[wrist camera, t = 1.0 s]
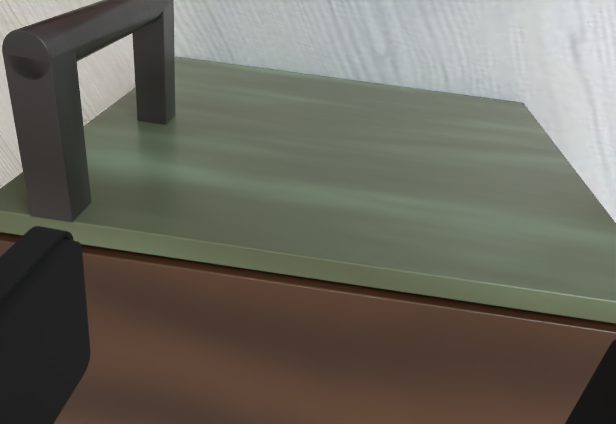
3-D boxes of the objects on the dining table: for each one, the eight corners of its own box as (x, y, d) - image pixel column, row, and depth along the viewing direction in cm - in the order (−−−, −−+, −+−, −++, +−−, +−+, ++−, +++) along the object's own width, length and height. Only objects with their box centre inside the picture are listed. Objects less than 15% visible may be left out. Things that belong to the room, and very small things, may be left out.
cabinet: (176, 72, 41) (-22, 237, 21) (518, 118, 40) (671, 341, 20) (179, 264, 50) (43, 514, 30) (459, 305, 49) (522, 595, 29)
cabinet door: (174, -43, 37) (-72, 17, 17) (554, 5, 36) (791, 132, 16) (176, 69, 41) (-22, 230, 21) (519, 115, 40) (673, 334, 20)
